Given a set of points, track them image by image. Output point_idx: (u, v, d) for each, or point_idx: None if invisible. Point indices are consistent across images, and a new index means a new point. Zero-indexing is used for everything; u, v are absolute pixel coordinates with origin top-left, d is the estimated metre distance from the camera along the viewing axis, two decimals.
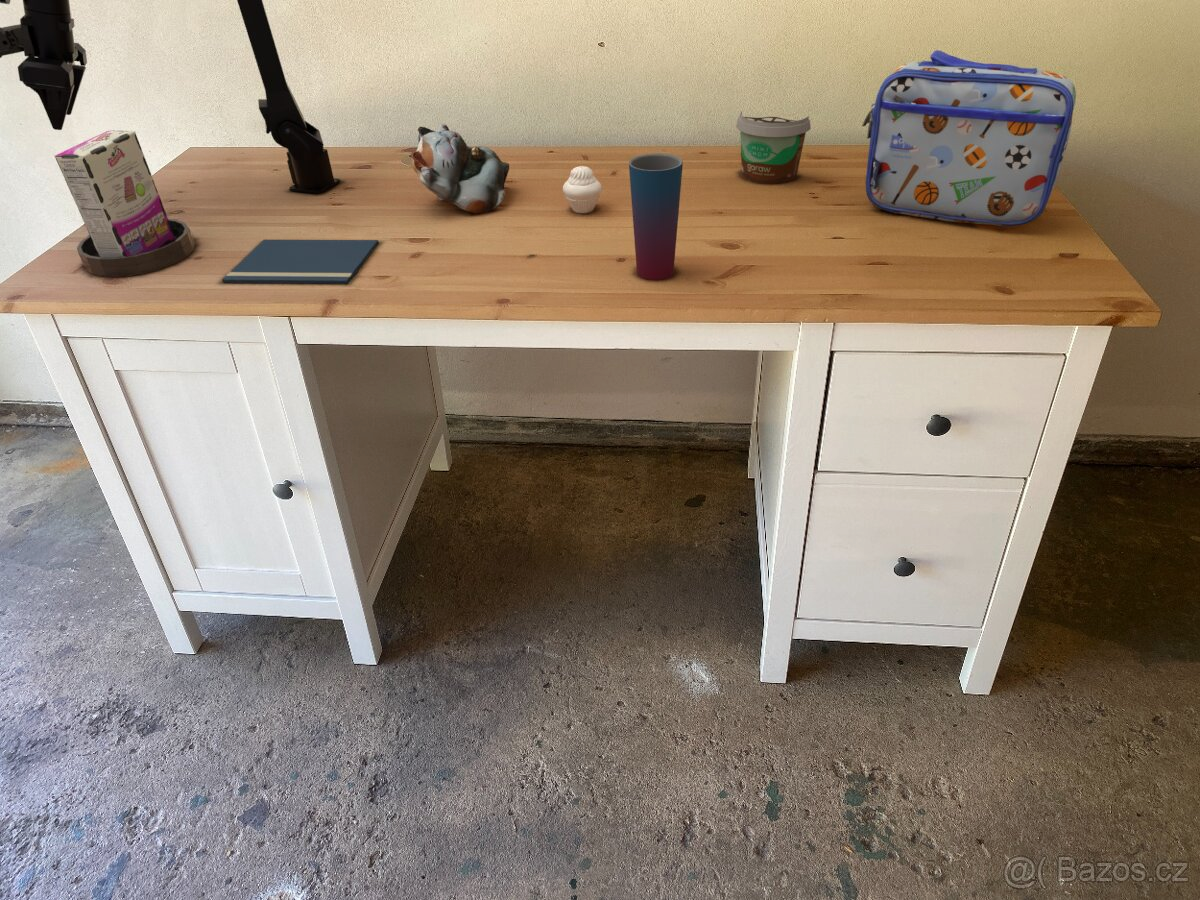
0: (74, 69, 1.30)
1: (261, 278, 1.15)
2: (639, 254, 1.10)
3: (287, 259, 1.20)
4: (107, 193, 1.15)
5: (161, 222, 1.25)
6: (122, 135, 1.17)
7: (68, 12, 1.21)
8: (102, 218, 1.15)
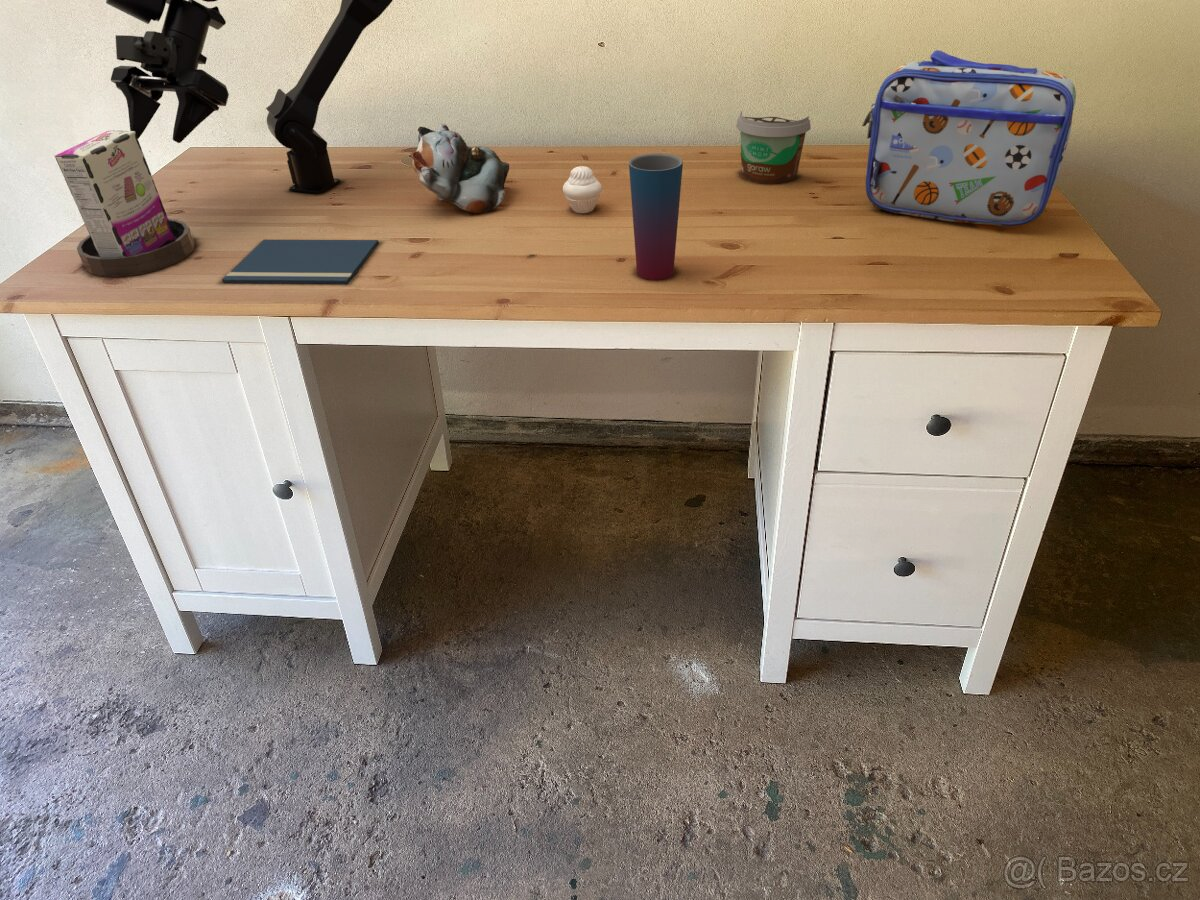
0: (153, 100, 1.28)
1: (261, 278, 1.15)
2: (639, 254, 1.10)
3: (287, 259, 1.20)
4: (107, 193, 1.15)
5: (161, 222, 1.25)
6: (122, 135, 1.17)
7: None
8: (102, 218, 1.15)
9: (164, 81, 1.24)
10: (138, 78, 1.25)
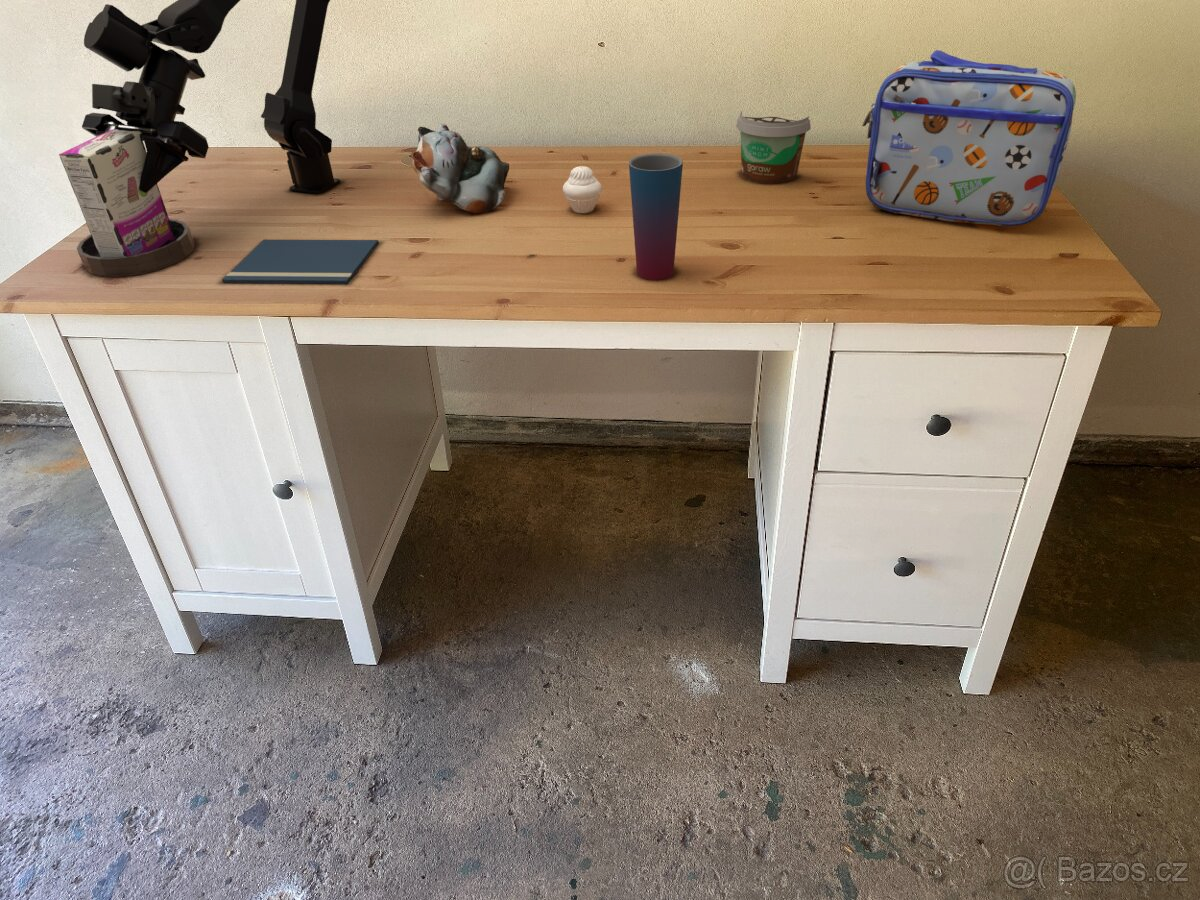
0: None
1: (261, 278, 1.15)
2: (639, 254, 1.10)
3: (287, 259, 1.20)
4: (110, 193, 1.14)
5: (162, 222, 1.25)
6: (127, 136, 1.17)
7: None
8: (104, 218, 1.15)
9: (150, 132, 1.20)
10: (121, 127, 1.21)
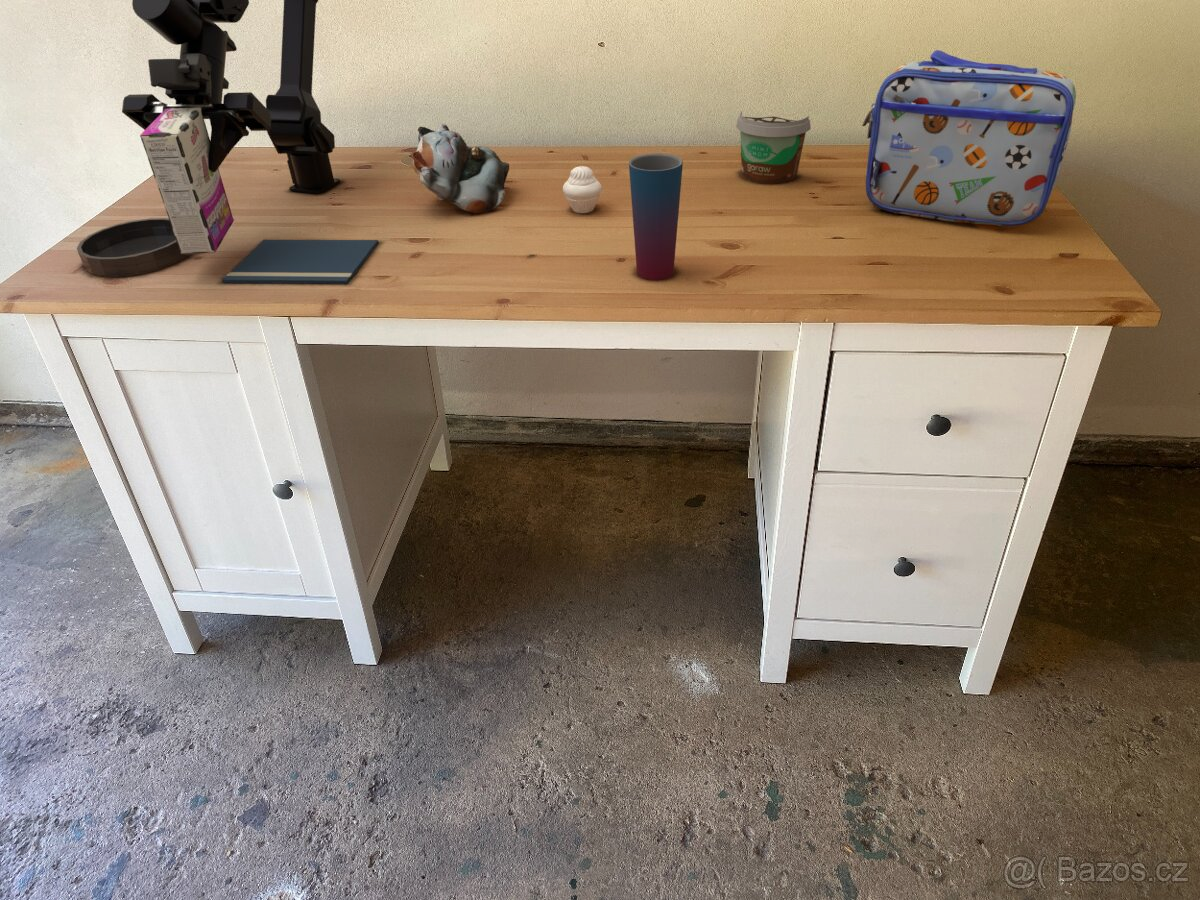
0: None
1: (261, 278, 1.15)
2: (639, 254, 1.10)
3: (287, 259, 1.20)
4: (194, 173, 1.09)
5: (225, 203, 1.19)
6: (193, 112, 1.11)
7: None
8: (189, 200, 1.09)
9: (207, 108, 1.14)
10: (170, 106, 1.14)
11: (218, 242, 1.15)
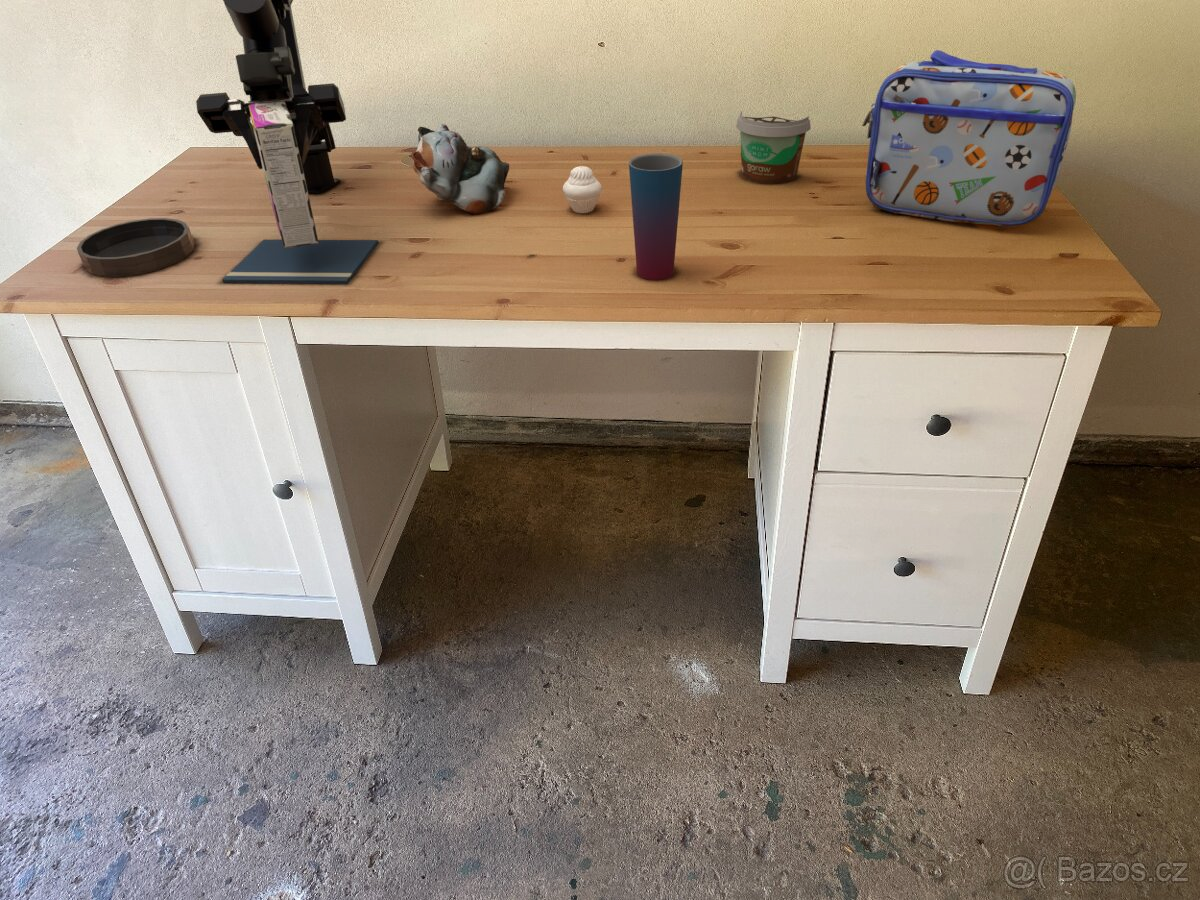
0: None
1: (261, 278, 1.15)
2: (639, 254, 1.10)
3: (287, 259, 1.20)
4: None
5: None
6: (284, 105, 1.11)
7: None
8: (298, 191, 1.10)
9: (286, 102, 1.15)
10: (246, 103, 1.14)
11: None
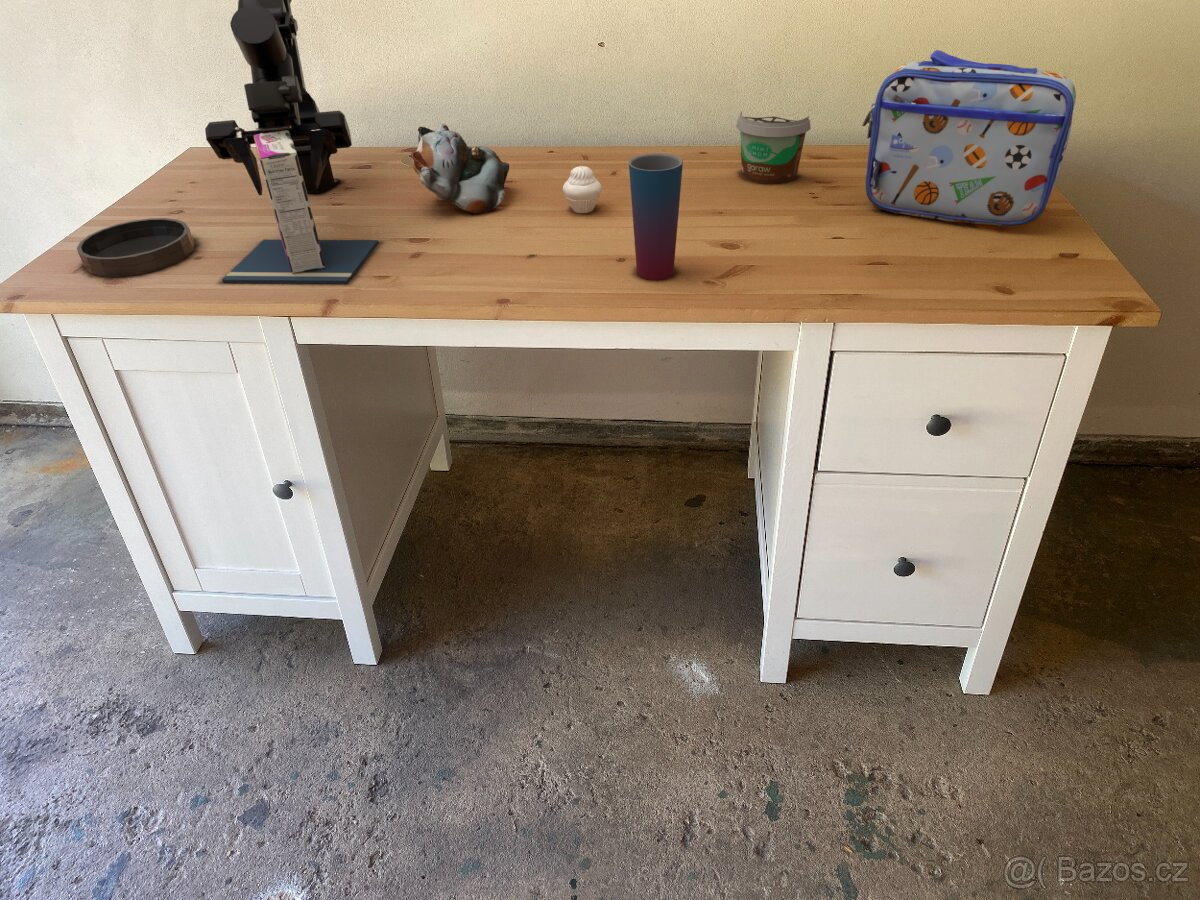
0: (253, 155, 1.18)
1: (261, 278, 1.15)
2: (639, 254, 1.10)
3: None
4: (306, 191, 1.12)
5: None
6: (287, 134, 1.13)
7: None
8: (304, 218, 1.12)
9: (286, 129, 1.17)
10: (246, 131, 1.15)
11: None
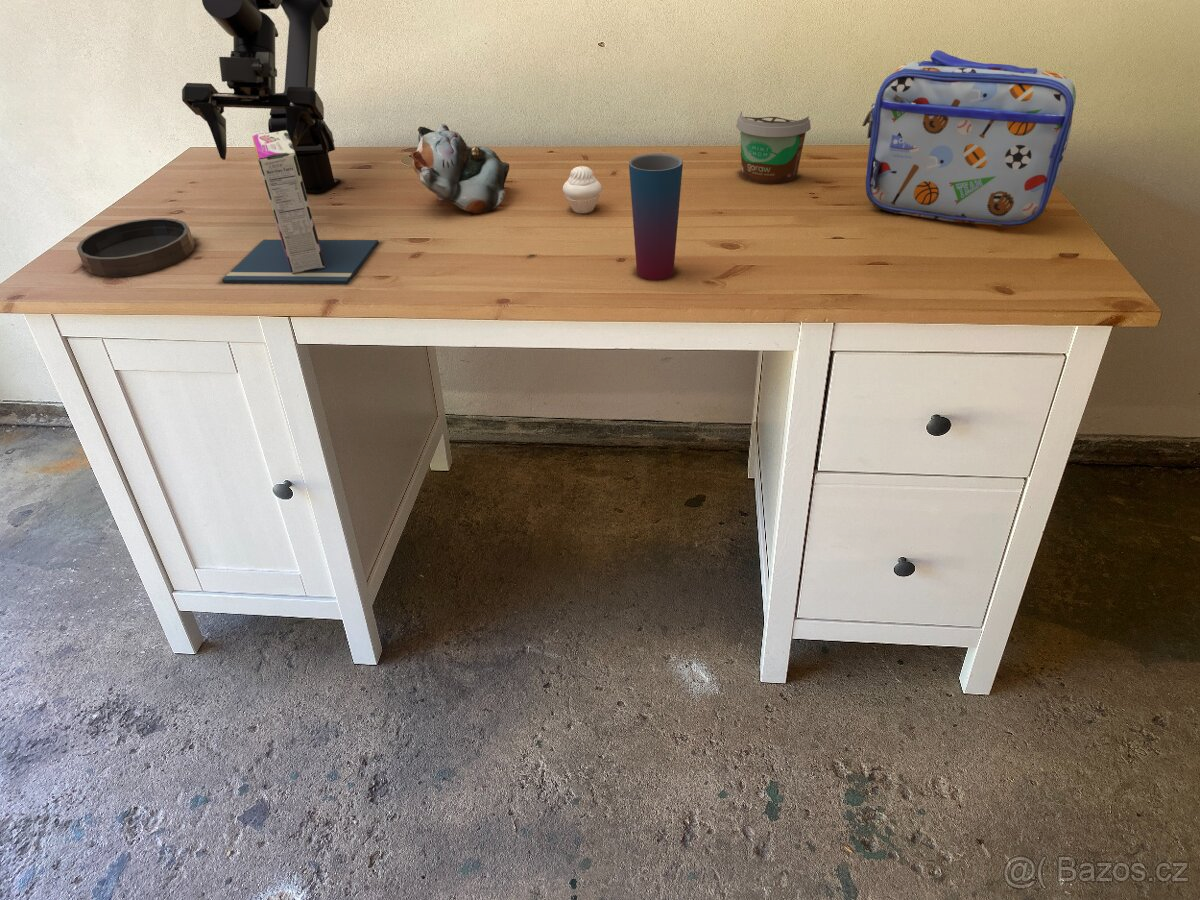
0: (222, 116, 1.24)
1: (261, 278, 1.15)
2: (639, 254, 1.10)
3: None
4: (305, 191, 1.12)
5: None
6: (286, 134, 1.13)
7: None
8: (303, 218, 1.12)
9: (254, 99, 1.22)
10: (216, 96, 1.21)
11: None
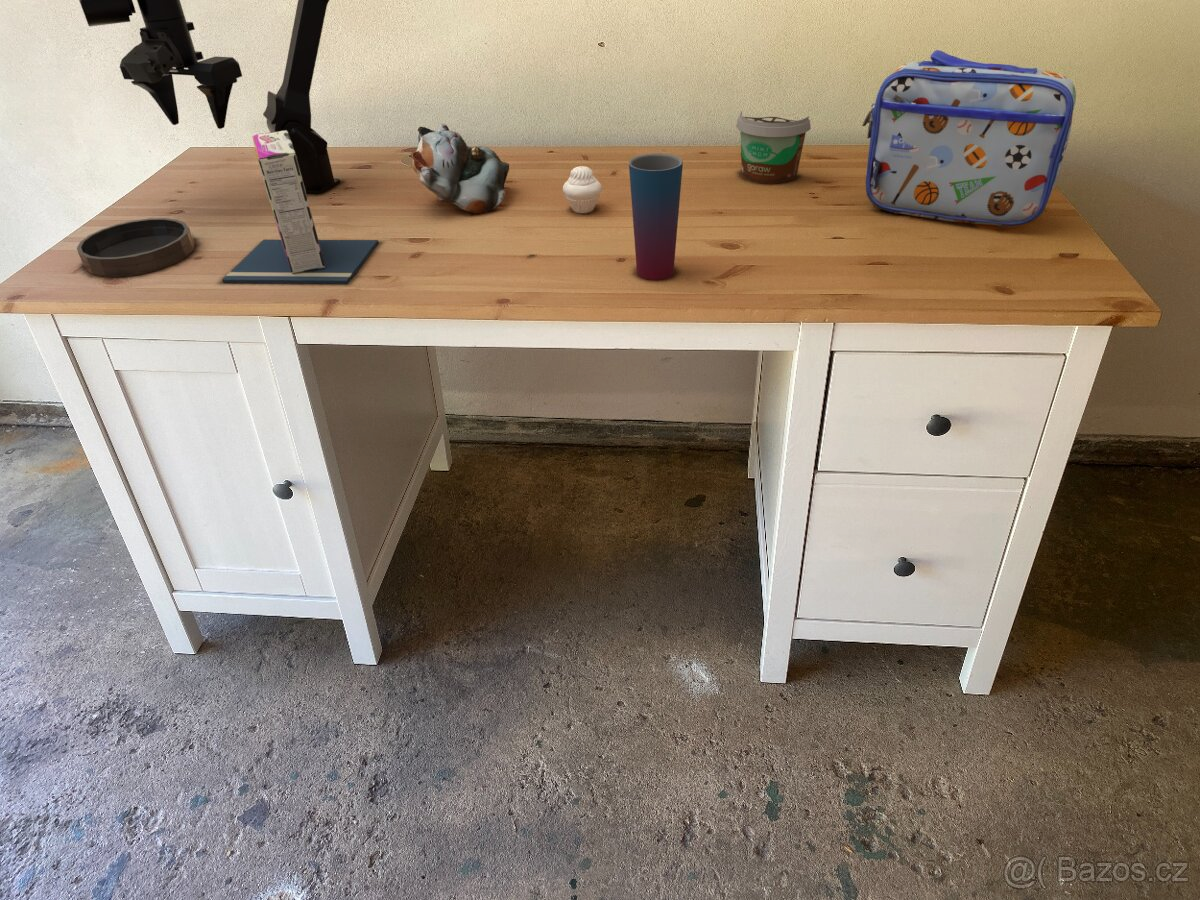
0: (166, 76, 1.31)
1: (261, 278, 1.15)
2: (639, 254, 1.10)
3: None
4: (305, 191, 1.12)
5: None
6: (286, 134, 1.13)
7: (183, 14, 1.24)
8: (303, 218, 1.12)
9: None
10: None
11: None
